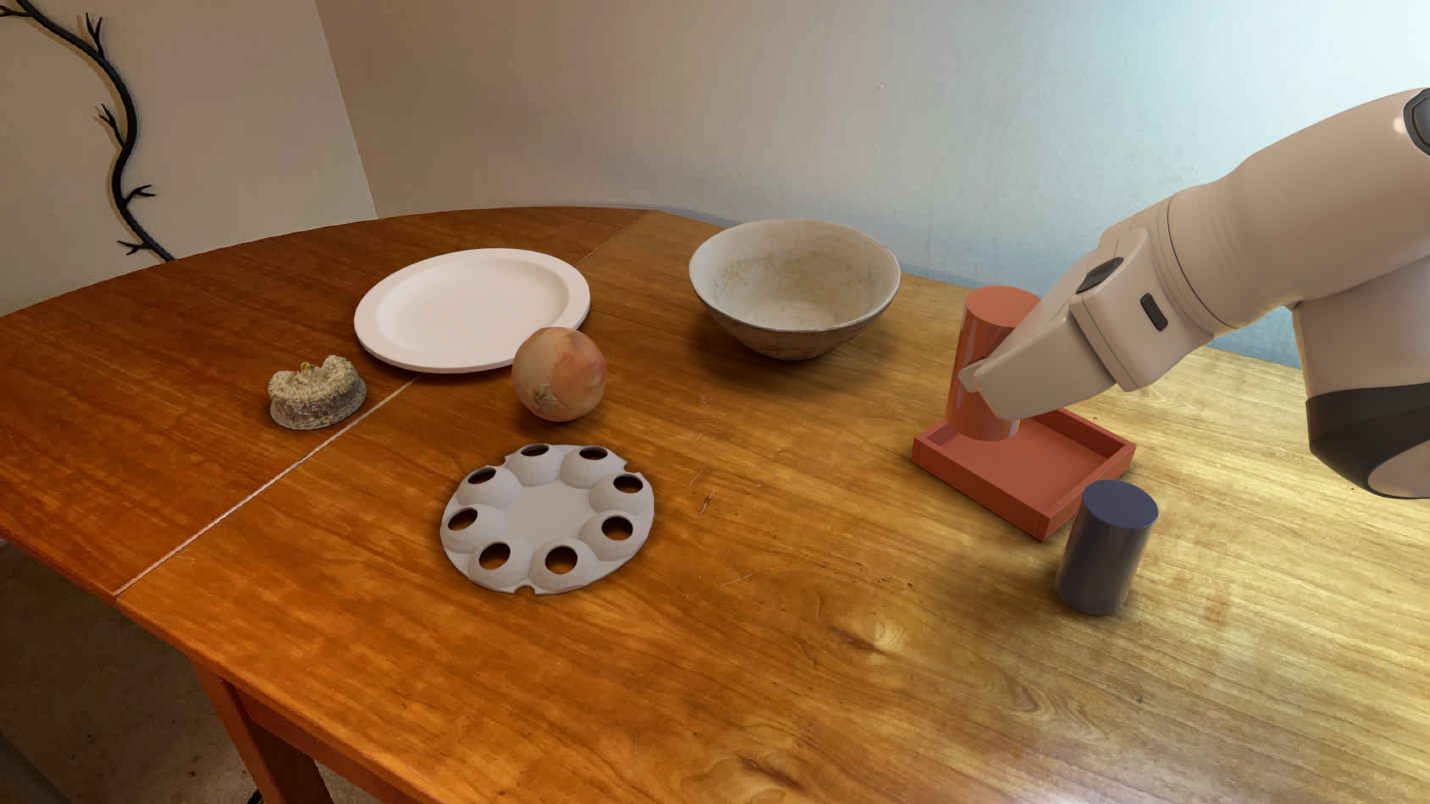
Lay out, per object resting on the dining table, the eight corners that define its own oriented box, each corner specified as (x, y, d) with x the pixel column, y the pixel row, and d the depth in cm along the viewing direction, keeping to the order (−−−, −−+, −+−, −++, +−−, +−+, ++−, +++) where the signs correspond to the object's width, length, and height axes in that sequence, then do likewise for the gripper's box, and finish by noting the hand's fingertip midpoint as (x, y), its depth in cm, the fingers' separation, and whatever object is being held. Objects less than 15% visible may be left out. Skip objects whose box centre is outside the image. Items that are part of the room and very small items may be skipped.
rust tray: (1129, 468, 89) (1137, 444, 87) (1042, 542, 81) (1050, 518, 79) (999, 399, 98) (1004, 376, 96) (910, 460, 90) (913, 437, 88)
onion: (510, 441, 93) (494, 361, 87) (527, 384, 101) (514, 306, 95) (604, 441, 93) (596, 360, 87) (614, 384, 100) (607, 306, 94)
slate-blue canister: (1139, 606, 75) (1175, 519, 69) (1080, 622, 74) (1112, 535, 68) (1097, 558, 79) (1127, 472, 73) (1041, 573, 78) (1067, 487, 72)
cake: (383, 408, 98) (373, 369, 95) (291, 447, 93) (276, 408, 90) (346, 362, 104) (334, 324, 100) (257, 397, 99) (241, 358, 95)
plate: (319, 315, 113) (314, 298, 111) (513, 243, 127) (511, 228, 126) (429, 417, 96) (424, 399, 95) (637, 321, 111) (636, 304, 109)
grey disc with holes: (692, 483, 87) (692, 468, 86) (574, 628, 74) (572, 612, 72) (529, 425, 95) (526, 410, 94) (394, 546, 81) (389, 530, 80)
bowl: (838, 422, 95) (845, 342, 89) (651, 356, 105) (646, 280, 99) (921, 320, 111) (932, 246, 105) (752, 271, 121) (753, 201, 115)
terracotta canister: (1035, 433, 68) (1065, 318, 62) (968, 448, 66) (993, 333, 60) (994, 390, 72) (1019, 279, 66) (931, 404, 71) (950, 292, 65)
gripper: (1185, 179, 62) (1019, 265, 72) (1080, 305, 49) (896, 387, 60) (1233, 256, 62) (1061, 330, 73) (1141, 401, 49) (949, 465, 60)
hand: (986, 357), depth 66 cm, fingers closed on terracotta canister, 5 cm apart
